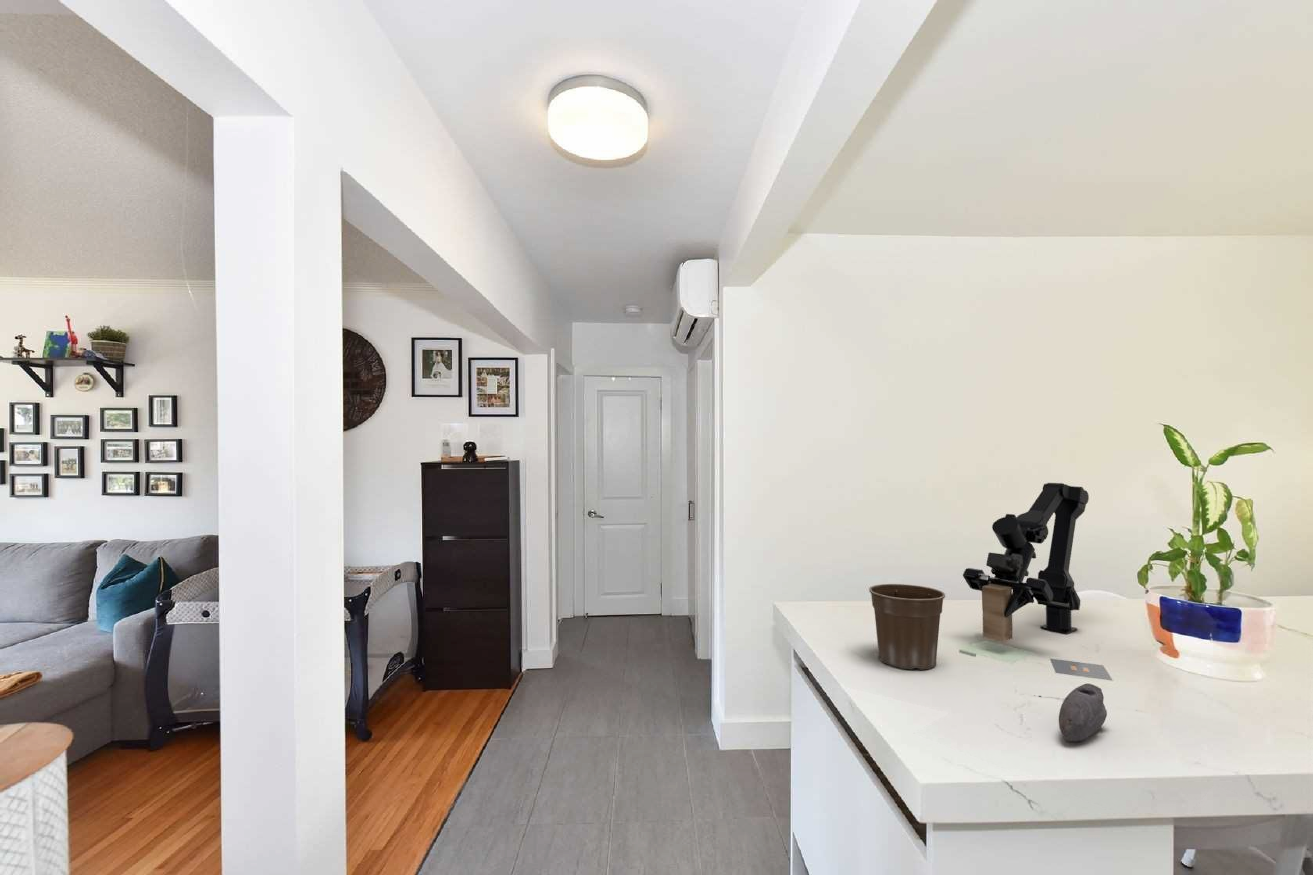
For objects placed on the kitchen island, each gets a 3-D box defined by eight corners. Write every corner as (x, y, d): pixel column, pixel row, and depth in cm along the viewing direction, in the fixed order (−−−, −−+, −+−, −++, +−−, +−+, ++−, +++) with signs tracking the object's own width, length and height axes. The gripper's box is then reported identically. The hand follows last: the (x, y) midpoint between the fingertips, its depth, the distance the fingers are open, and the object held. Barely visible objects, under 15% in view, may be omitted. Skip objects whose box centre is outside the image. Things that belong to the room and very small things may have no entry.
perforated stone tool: (1082, 753, 98) (1081, 709, 98) (1045, 741, 102) (1044, 699, 102) (1113, 727, 107) (1112, 687, 107) (1078, 716, 111) (1077, 678, 111)
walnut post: (992, 633, 148) (991, 583, 148) (1012, 638, 144) (1011, 587, 144) (982, 637, 145) (982, 586, 146) (1003, 642, 142) (1002, 590, 142)
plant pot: (883, 645, 151) (883, 579, 152) (954, 659, 141) (953, 589, 142) (859, 663, 139) (858, 592, 139) (934, 680, 129) (933, 603, 129)
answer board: (984, 642, 153) (984, 640, 153) (1036, 655, 143) (1036, 653, 143) (959, 652, 146) (959, 649, 146) (1012, 666, 136) (1012, 663, 136)
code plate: (1049, 660, 140) (1049, 658, 140) (1103, 667, 135) (1103, 664, 135) (1055, 675, 131) (1055, 672, 131) (1113, 683, 126) (1113, 680, 126)
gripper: (965, 535, 155) (942, 585, 148) (1046, 545, 140) (1025, 600, 133) (981, 563, 160) (960, 612, 153) (1062, 575, 144) (1042, 630, 138)
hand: (994, 613), depth 144 cm, fingers closed on walnut post, 5 cm apart
